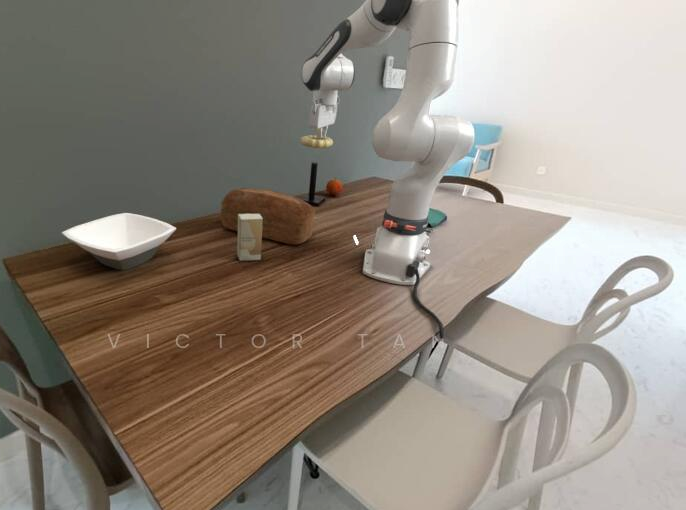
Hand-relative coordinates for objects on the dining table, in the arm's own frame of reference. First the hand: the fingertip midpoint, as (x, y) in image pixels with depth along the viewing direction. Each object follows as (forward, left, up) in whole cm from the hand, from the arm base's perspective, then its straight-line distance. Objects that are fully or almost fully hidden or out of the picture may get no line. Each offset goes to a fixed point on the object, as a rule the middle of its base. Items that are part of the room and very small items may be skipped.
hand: (320, 138), depth 151 cm
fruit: (+10, -5, -24) cm, 26 cm away
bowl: (-82, +24, -24) cm, 89 cm away
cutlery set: (-5, -42, -24) cm, 48 cm away
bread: (-45, 0, -24) cm, 51 cm away
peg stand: (-4, 0, -24) cm, 24 cm away
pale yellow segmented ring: (-5, 0, 0) cm, 5 cm away
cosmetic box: (-64, -4, -24) cm, 68 cm away
